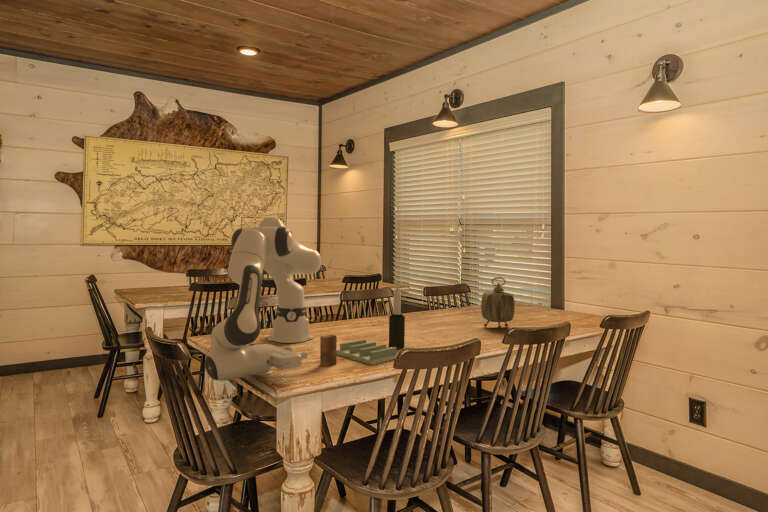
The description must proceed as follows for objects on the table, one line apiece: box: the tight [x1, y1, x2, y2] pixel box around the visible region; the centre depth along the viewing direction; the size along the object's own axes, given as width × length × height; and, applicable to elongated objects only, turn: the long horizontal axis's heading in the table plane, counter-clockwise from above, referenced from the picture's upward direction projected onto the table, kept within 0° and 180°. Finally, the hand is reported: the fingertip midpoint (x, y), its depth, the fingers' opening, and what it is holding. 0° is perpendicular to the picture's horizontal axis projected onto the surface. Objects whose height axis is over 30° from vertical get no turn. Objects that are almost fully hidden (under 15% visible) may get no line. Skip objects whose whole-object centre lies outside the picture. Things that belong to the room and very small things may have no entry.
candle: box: [388, 284, 406, 349], centre depth 194 cm, size 5×5×25 cm
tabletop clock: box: [480, 276, 516, 329], centre depth 237 cm, size 14×9×25 cm, turn 97°
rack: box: [336, 338, 398, 366], centre depth 179 cm, size 14×20×4 cm
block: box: [319, 334, 338, 367], centre depth 167 cm, size 5×2×10 cm, turn 133°
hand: (298, 352), depth 159 cm, fingers open, 8 cm apart
